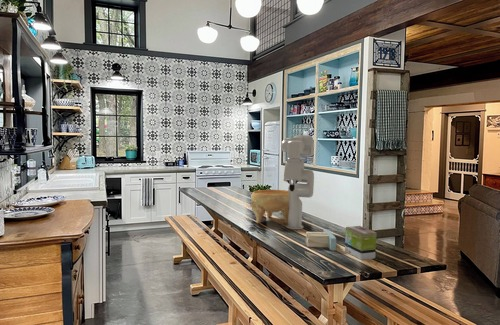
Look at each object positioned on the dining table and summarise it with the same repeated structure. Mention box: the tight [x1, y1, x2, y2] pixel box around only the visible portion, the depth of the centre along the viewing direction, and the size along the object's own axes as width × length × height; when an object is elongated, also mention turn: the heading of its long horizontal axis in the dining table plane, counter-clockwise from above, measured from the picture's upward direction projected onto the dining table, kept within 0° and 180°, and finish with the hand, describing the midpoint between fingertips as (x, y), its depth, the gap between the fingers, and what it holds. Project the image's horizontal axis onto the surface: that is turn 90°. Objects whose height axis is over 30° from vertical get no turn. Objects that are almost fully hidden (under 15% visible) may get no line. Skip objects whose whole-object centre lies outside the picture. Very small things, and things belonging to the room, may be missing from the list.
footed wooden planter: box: [249, 189, 289, 224], centre depth 280 cm, size 34×35×23 cm
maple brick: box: [305, 231, 329, 248], centre depth 221 cm, size 8×12×7 cm, turn 91°
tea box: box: [344, 225, 378, 261], centre depth 204 cm, size 15×10×15 cm, turn 21°
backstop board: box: [323, 229, 337, 251], centre depth 221 cm, size 20×3×7 cm, turn 1°
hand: (291, 190), depth 225 cm, fingers closed
